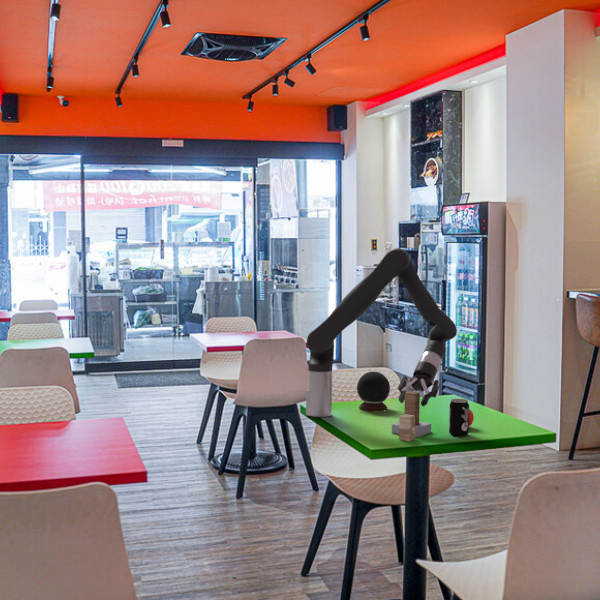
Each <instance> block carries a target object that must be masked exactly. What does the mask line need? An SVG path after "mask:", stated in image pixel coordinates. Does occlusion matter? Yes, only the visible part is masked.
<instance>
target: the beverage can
mask: <svg viewBox="0 0 600 600" xmlns="http://www.w3.org/2000/svg"><path fill="white" fill-rule="evenodd" d="M469 409H470V403H469V400H468V399H464V398H452V399H450V402H449V410H448V411H449V416H448V417H449V419H448V433H449V435H451V436H454V437H467V435H468V434H469V430H470V429H469V428H470V426H469Z"/></svg>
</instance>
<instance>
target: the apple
mask: <svg viewBox="0 0 600 600" xmlns="http://www.w3.org/2000/svg"><path fill="white" fill-rule="evenodd" d="M474 419H475V416H474V413H473V411H472V410H471V409H470V408H469V427H470V426H472V424H473V422H474Z"/></svg>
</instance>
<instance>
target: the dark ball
mask: <svg viewBox="0 0 600 600" xmlns="http://www.w3.org/2000/svg"><path fill="white" fill-rule="evenodd" d="M356 391H357V394H358V396H359V398H360V400H362V401H363V402H362V403H360V405H359V406H358V409H359V410H360V411H364V412H370V411H380V412H385V411H384V410H386V411H387V410H388V407H387V405H386V404H385V403H384V401H386V400H387V399H388V396H389V395H390V391H391V384H390V381H389V380H388V378H387V377H386V376H385V375H384V374H383V373H381V372H378V371H374V370H373V371H368V372H366V373H364V374H363V375H361V376H360V378H359V380H358V381H357V386H356Z"/></svg>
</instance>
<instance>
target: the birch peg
mask: <svg viewBox="0 0 600 600" xmlns="http://www.w3.org/2000/svg"><path fill="white" fill-rule="evenodd" d="M398 417H399V420H398V422H399V434H398V440H399V439H400V441H405V440H406V441H407V442H410V441H412V440H415V437H414V436H415V415H408V414H404V413H403V414H401V415H398Z"/></svg>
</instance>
